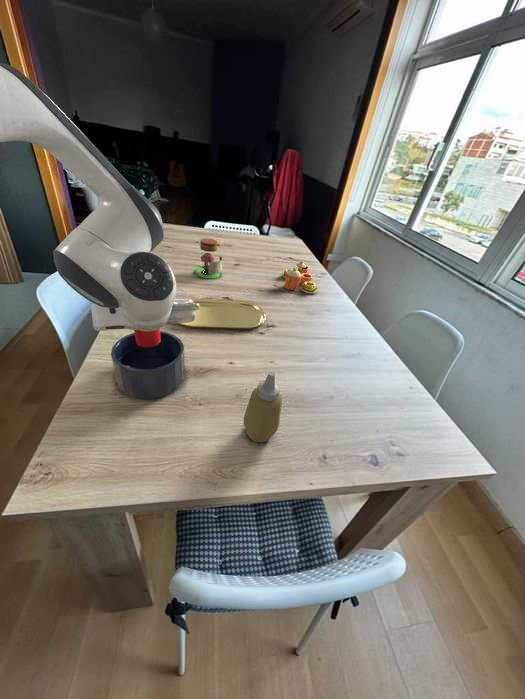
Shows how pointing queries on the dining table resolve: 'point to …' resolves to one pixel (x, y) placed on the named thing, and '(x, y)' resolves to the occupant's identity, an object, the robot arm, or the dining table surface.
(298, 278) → the toy tea set
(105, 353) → the dining table surface
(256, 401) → the squeeze bottle
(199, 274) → the mushroom terrarium jar
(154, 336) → the disc
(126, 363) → the pot
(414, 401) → the dining table surface
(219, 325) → the serving platter
